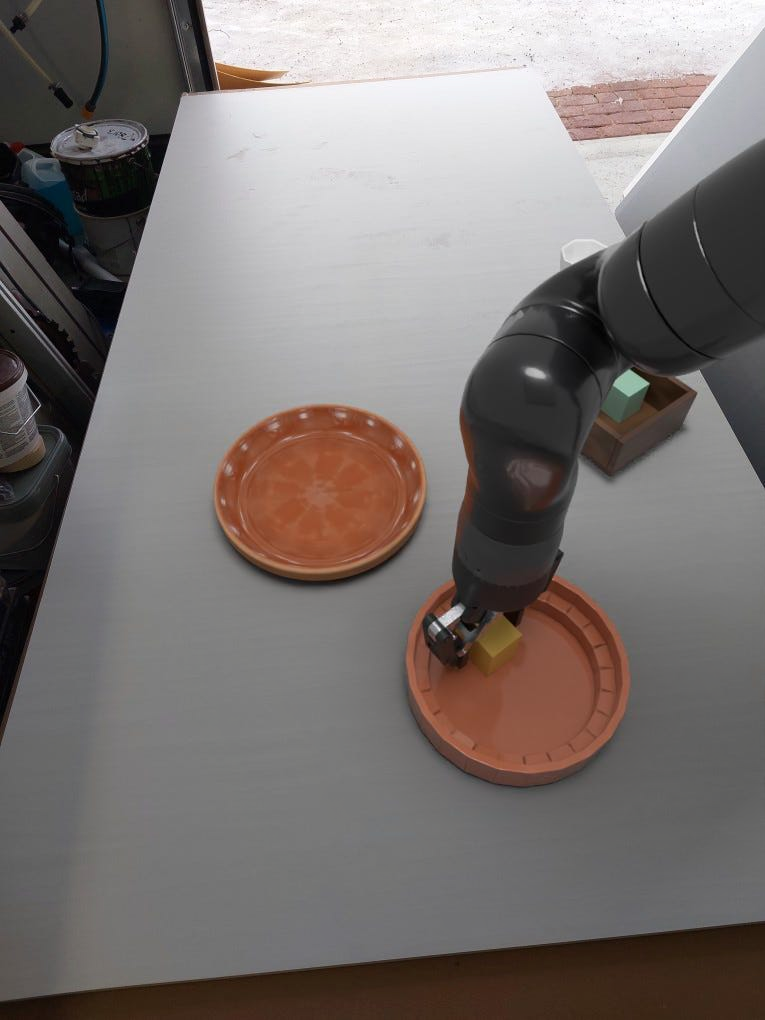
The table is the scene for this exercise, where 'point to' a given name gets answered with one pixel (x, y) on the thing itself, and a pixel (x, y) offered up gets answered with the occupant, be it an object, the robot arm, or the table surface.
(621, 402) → the mint green block
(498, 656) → the yellow block
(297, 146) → the table surface
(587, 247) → the cup
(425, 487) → the saucer
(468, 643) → the robot arm
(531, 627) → the bowl
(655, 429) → the holder
